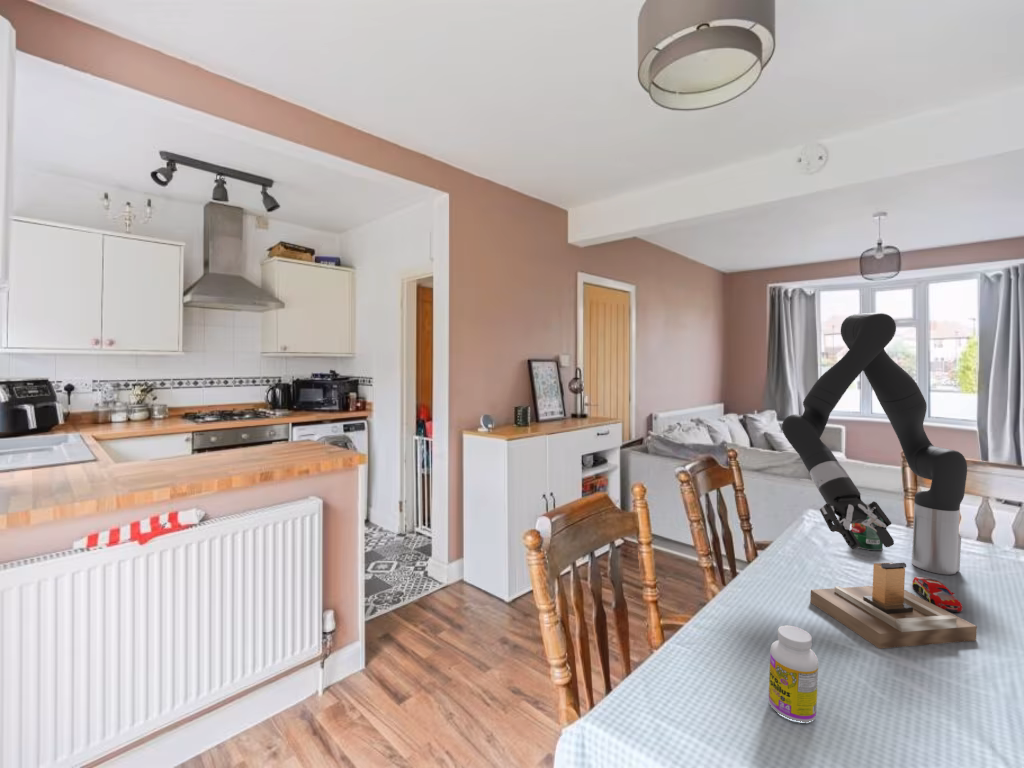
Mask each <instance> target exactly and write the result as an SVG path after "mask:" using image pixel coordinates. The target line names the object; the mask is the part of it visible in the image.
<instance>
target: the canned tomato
mask: <svg viewBox="0 0 1024 768" xmlns="http://www.w3.org/2000/svg"><path fill="white" fill-rule="evenodd" d="M868 519H870V517H868V516H867V519H866V520H868ZM880 519H881V521H882V522H884V521H883V520H882V518H880ZM873 524H875V525H876V526H877V524H876V523H874V522H873ZM850 530H852V532H853V533H854V535H855V537H856V538H857V540H858V542H859V543H860V547H859V548H858V549H860V548H862V549H861V550H864V549H868V550H867V551H869V550H881V551H883V550H884V549H883V547H884V545H883V543H882V542H881V540H880V538H879V537H878V535H877V534H876V531H875V530H873V529H872V528H871V527H869V526H865V525H864V524H862V523H853V524H851V528H850Z"/></svg>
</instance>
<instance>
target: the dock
mask: <svg viewBox="0 0 1024 768" xmlns="http://www.w3.org/2000/svg"><path fill="white" fill-rule="evenodd" d="M872 592H873V585H866V586H865V585H863V586H852V587H851V586H849V587H841V586H838V585H837V586H834V587H833V588H819V589H810V597H809V598H810V599H809V600H810V602H809V603H811V604H812V605H814V606H815V607H817V608H818V609H820V610H821V611H822V612H823V613H825V614H827V615H828V616H830V617H832V618H833V619H834V620H836V621H837V622H839V623H840V624H842V625H843V626H845V627H846V628H848V629H849V630H851V631H852V632H854V633H855V634H857V635H859V636H860V637H861V638H863V639H864V640H866V641H867V642H869V643H871V645H873V646H874V647H877V648H878V649H890V648H891V649H892V648H902V647H903V648H905V647H914V646H915V647H917V646H927V645H938V644H939V645H941V644H951V643H963V642H975V641H977V633H978V632H977V631H978V630H977V629H978V626H977V625H975V624H974V623H971V622H969V621H968V620H966V619H963V618H962V617H960V616H958V615H955V614H953V612H950V611H946V610H944V609H942V608H940V607H938V606H936V605H934V604H932V603H930V602H928V601H927V600H926V599H925V598H923V597H922V598H921V597H920V596H918V595H916V594H914V593H912V592H910V591H908V590H906V589H904V603H905V604H907V605H909V606H911V607H913V612H908V613H894V614H886V613H884V612H883V611H881V610H879V609H878V608H876V607H874V606H872V605H871V604H869V603H867V602H865V601H864V600H863V596H872Z"/></svg>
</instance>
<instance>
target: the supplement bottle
mask: <svg viewBox="0 0 1024 768" xmlns="http://www.w3.org/2000/svg"><path fill="white" fill-rule="evenodd" d="M777 639H778V640H777ZM777 639H776V640H775V641H774V642H772V644H770V649H769V650H770V652H769V656H770V657H769V678H768V679H769V681H768V683H769V684H768V703H770V704H769V705H771V706H770V707H771V709H772V708H773V709H774V710H775V711H776V712H777V713H779V714H781V715H783V716H785V717H787V718H789V719H792V720H796V721H800V722H801V721H802V722H809V721H812V720H813V721H815V719H816V717H817V709H818V707H817V705H818V703H817V702H818V680H819V678H818V677H819V674H818V673H819V660H818V659H819V658H818V657H817V655H816V653H815V651H814V650H812V649H811V648H812V646H813V645H812V643H813V642H812V641H813V638H812V635H811V633H809V632H808V631H806V630H805V629H803V628H800V627H797V626H794V625H787V624H786V625H781V626H779V627H778V628H777ZM773 709H772V710H773ZM774 710H773V711H774ZM775 711H774V712H775ZM776 712H775V713H776ZM777 713H776V714H777ZM813 721H812V722H813Z"/></svg>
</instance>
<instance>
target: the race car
mask: <svg viewBox="0 0 1024 768" xmlns="http://www.w3.org/2000/svg"><path fill="white" fill-rule="evenodd" d="M912 579H913V580H912V588H913V590H914V592H916V593H918V594H919V595H920V596H921V597H922V599H924V600H926V601H928V602H930V603H932V604H934V605H936V606H938V607H940V608H942V609H944V610H946V611H948V612H950V613H960V612H962V611H963V605H962V603H961V601H960V600H958V598H957V597H956V596H955V592H953V591H952V592H951V590H950V589H949V588H948V587H947V586H946V585H944V583H942V582H941V581H940V580H936V579H932V578H929V577H922V576H914V578H912Z"/></svg>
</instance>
